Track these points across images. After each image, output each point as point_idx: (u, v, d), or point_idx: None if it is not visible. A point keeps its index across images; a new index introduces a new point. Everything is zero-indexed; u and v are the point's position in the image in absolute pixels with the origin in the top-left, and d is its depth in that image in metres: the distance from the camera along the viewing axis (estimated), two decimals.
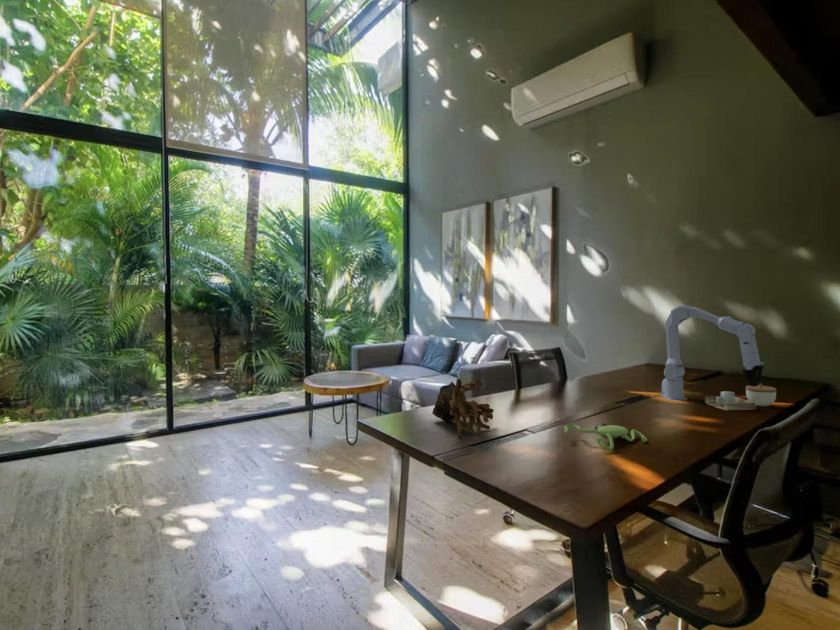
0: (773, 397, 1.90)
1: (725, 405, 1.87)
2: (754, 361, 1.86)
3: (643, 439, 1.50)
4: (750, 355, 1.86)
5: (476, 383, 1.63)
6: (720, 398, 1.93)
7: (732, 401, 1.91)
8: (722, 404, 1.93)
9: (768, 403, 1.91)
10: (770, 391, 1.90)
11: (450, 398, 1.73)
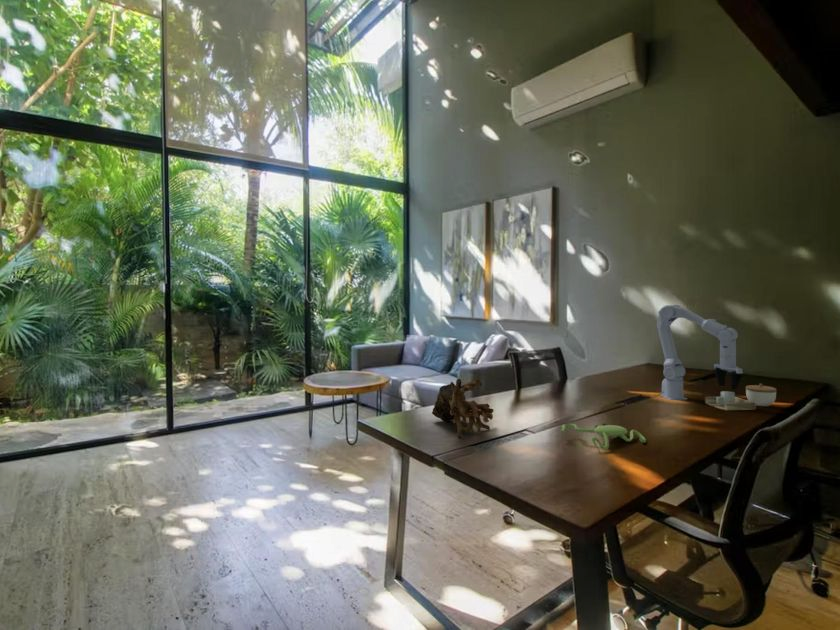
0: (773, 397, 1.90)
1: (725, 405, 1.87)
2: (735, 365, 1.91)
3: (641, 440, 1.49)
4: (733, 359, 1.90)
5: (476, 383, 1.63)
6: (720, 398, 1.93)
7: (732, 401, 1.91)
8: (722, 404, 1.93)
9: (768, 403, 1.91)
10: (770, 391, 1.90)
11: (450, 398, 1.73)
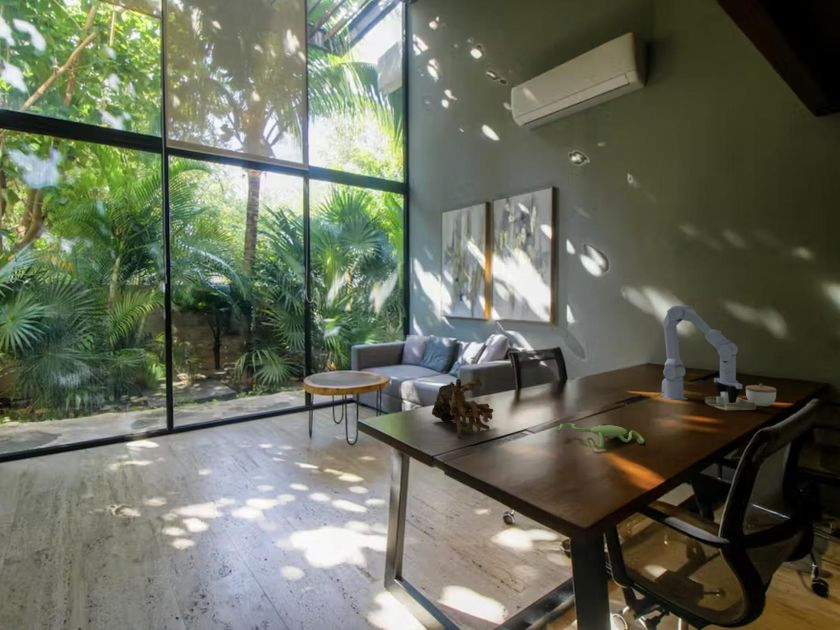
0: (773, 397, 1.90)
1: (725, 405, 1.87)
2: (735, 380, 1.91)
3: (639, 440, 1.49)
4: (733, 374, 1.91)
5: (476, 383, 1.64)
6: (720, 398, 1.93)
7: None
8: (722, 404, 1.93)
9: (768, 403, 1.91)
10: (770, 391, 1.90)
11: (450, 398, 1.73)
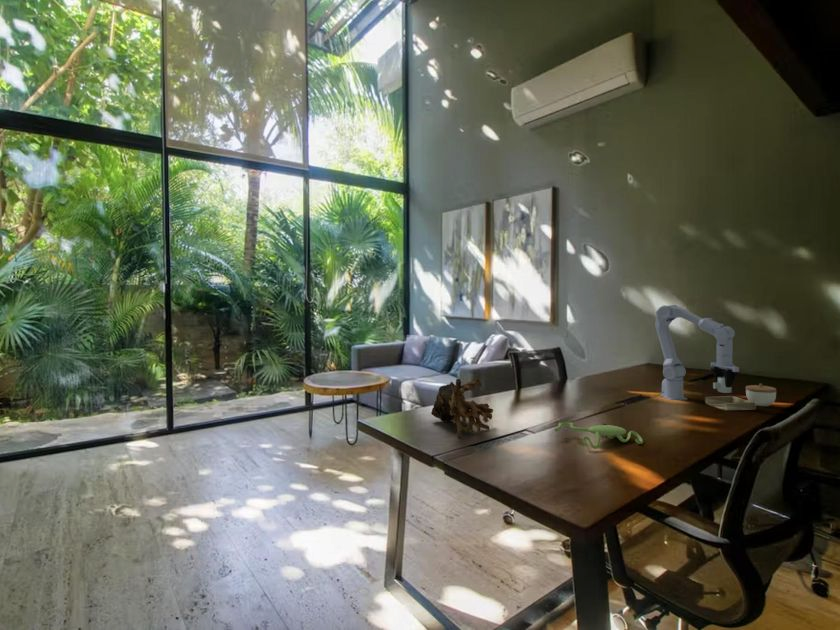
0: (773, 397, 1.90)
1: (725, 405, 1.87)
2: (731, 363, 1.91)
3: (637, 441, 1.48)
4: (730, 357, 1.90)
5: (476, 383, 1.64)
6: (717, 384, 1.93)
7: None
8: (719, 390, 1.93)
9: (768, 403, 1.91)
10: (770, 391, 1.90)
11: (449, 398, 1.73)
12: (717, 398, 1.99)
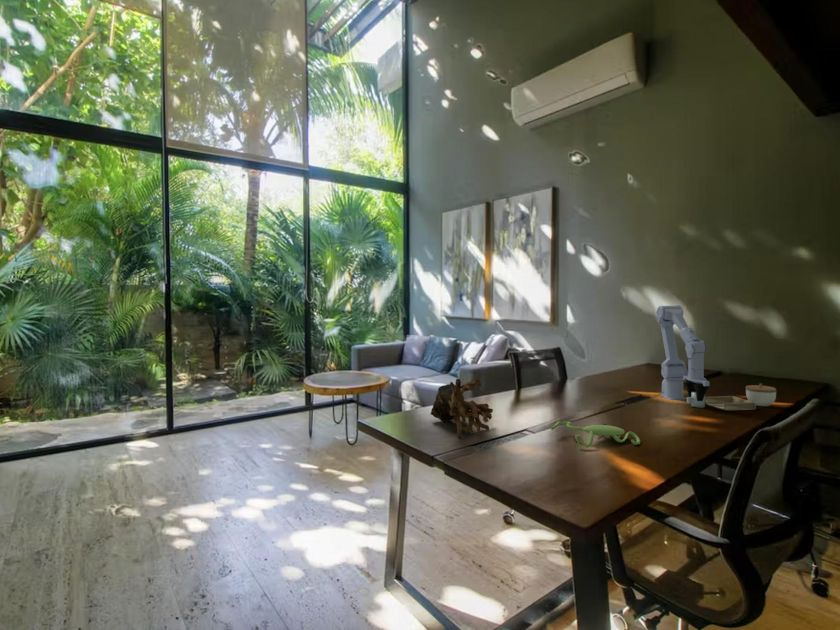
0: (773, 397, 1.90)
1: (725, 405, 1.87)
2: (702, 377, 1.92)
3: (633, 441, 1.48)
4: (701, 371, 1.92)
5: (476, 383, 1.64)
6: (690, 398, 1.94)
7: (702, 401, 1.92)
8: (692, 404, 1.95)
9: (768, 403, 1.91)
10: (770, 391, 1.90)
11: (449, 398, 1.73)
12: (717, 398, 1.99)
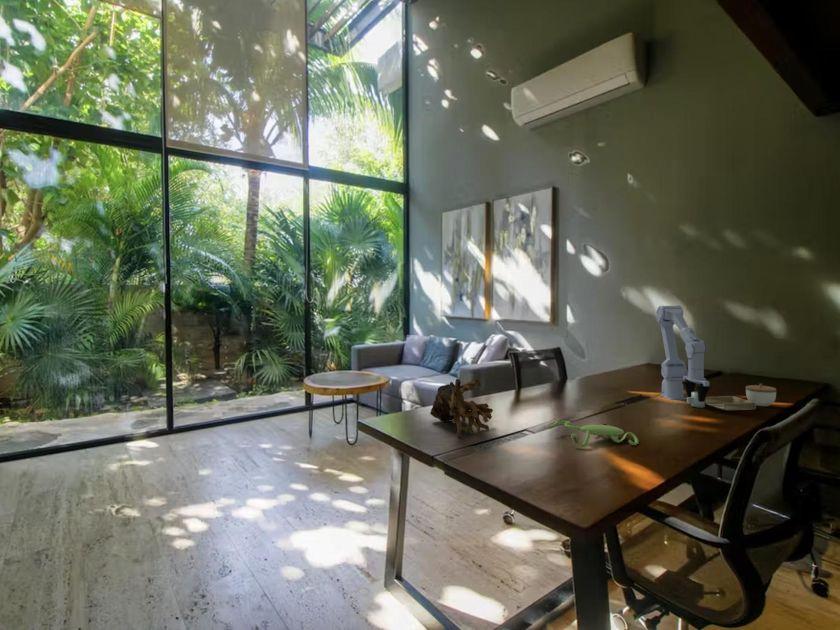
0: (773, 397, 1.90)
1: (725, 405, 1.87)
2: (702, 377, 1.92)
3: (630, 442, 1.48)
4: (701, 371, 1.92)
5: (475, 383, 1.64)
6: (690, 398, 1.94)
7: None
8: (692, 404, 1.95)
9: (768, 403, 1.91)
10: (770, 391, 1.90)
11: (449, 398, 1.73)
12: (717, 398, 1.99)
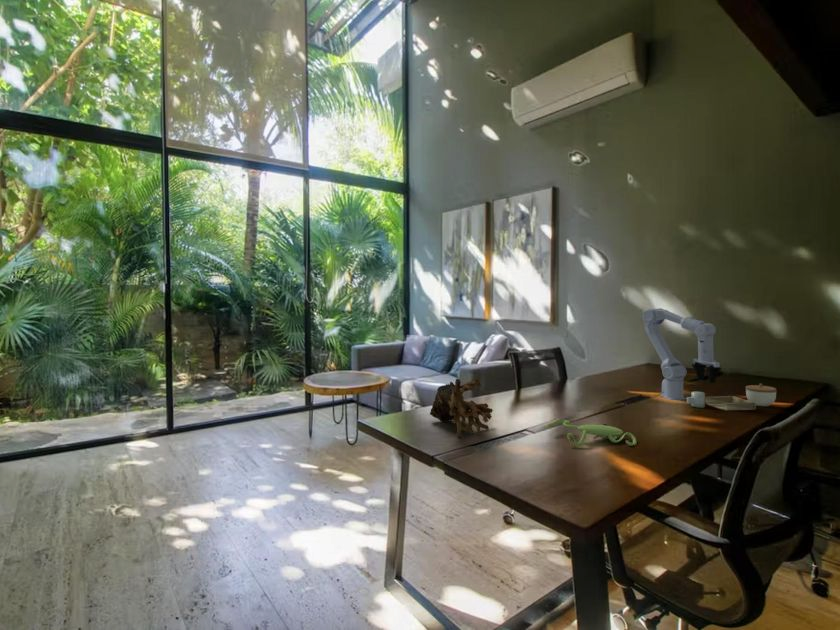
0: (773, 397, 1.90)
1: (725, 405, 1.87)
2: (712, 359, 1.95)
3: (627, 442, 1.47)
4: (711, 353, 1.95)
5: (475, 383, 1.64)
6: (690, 398, 1.94)
7: (702, 401, 1.92)
8: (692, 404, 1.95)
9: (768, 403, 1.91)
10: (770, 391, 1.90)
11: (448, 398, 1.73)
12: (717, 398, 1.99)
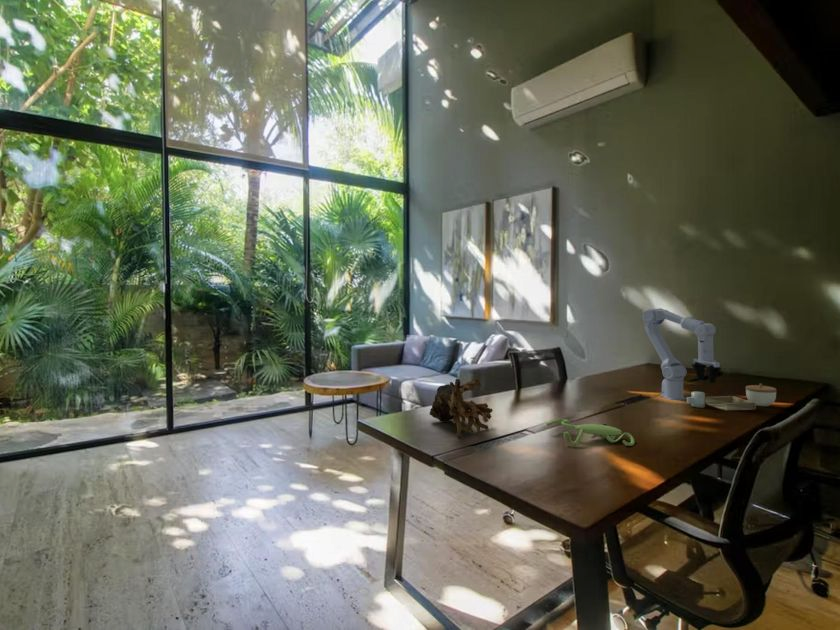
0: (773, 397, 1.90)
1: (725, 405, 1.87)
2: (712, 359, 1.95)
3: (624, 442, 1.47)
4: (711, 353, 1.95)
5: (475, 383, 1.64)
6: (690, 398, 1.94)
7: (702, 401, 1.92)
8: (692, 404, 1.95)
9: (768, 403, 1.91)
10: (770, 391, 1.90)
11: (448, 398, 1.73)
12: (717, 398, 1.99)
